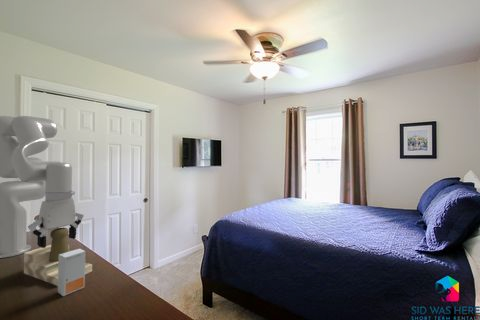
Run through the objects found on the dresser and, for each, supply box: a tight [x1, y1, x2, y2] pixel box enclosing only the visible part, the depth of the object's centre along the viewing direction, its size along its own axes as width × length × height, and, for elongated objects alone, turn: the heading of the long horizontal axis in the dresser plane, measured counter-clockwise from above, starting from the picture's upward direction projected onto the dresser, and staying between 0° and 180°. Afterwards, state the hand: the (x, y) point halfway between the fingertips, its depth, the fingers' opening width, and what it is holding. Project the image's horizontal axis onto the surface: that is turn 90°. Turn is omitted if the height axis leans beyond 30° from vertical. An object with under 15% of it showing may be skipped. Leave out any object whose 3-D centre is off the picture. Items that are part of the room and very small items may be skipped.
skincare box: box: [57, 248, 86, 297], centre depth 71 cm, size 6×4×12 cm
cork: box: [49, 227, 70, 262], centre depth 83 cm, size 6×6×11 cm
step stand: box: [23, 244, 93, 287], centre depth 83 cm, size 21×11×8 cm, turn 67°
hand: (57, 242), depth 83 cm, fingers open, 9 cm apart
